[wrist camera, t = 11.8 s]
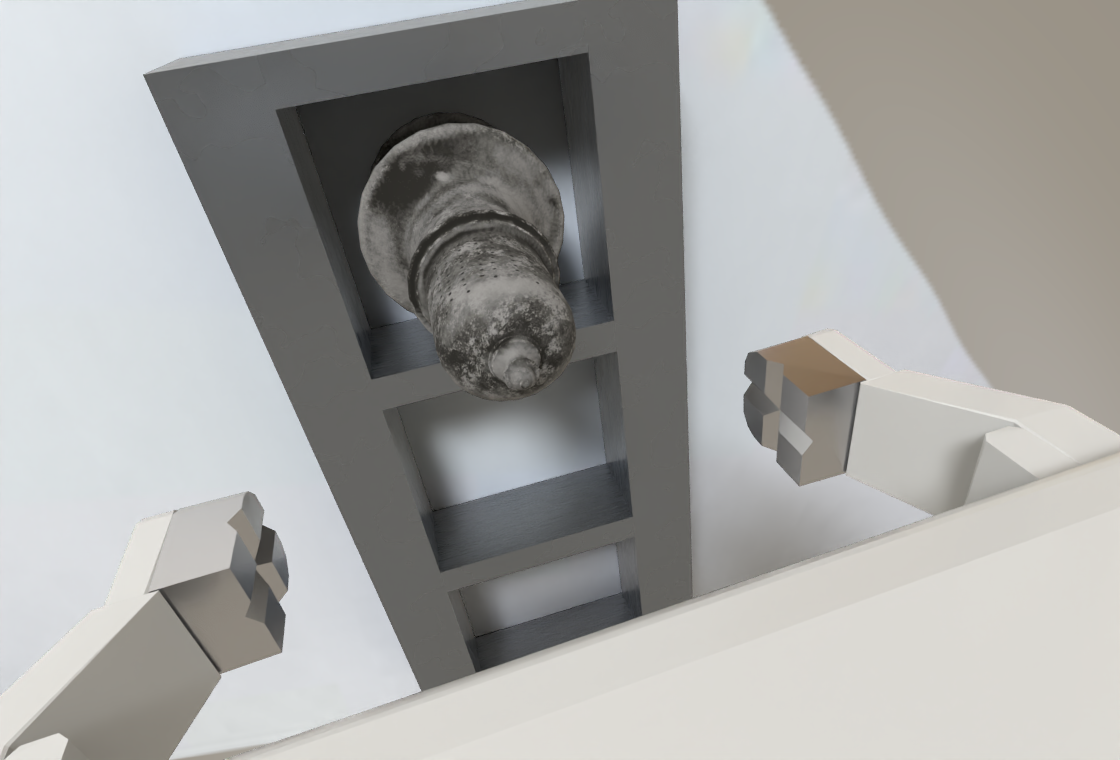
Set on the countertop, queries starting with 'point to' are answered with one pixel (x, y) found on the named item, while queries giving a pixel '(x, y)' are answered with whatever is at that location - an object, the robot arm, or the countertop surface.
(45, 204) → the countertop surface
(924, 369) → the countertop surface
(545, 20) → the grey rectangular frame piece
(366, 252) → the grey stone finial
